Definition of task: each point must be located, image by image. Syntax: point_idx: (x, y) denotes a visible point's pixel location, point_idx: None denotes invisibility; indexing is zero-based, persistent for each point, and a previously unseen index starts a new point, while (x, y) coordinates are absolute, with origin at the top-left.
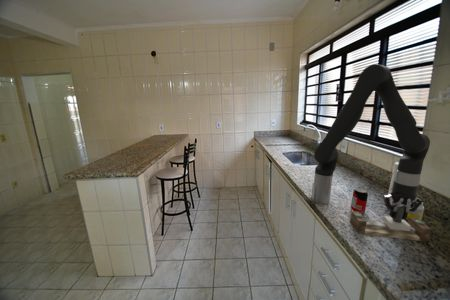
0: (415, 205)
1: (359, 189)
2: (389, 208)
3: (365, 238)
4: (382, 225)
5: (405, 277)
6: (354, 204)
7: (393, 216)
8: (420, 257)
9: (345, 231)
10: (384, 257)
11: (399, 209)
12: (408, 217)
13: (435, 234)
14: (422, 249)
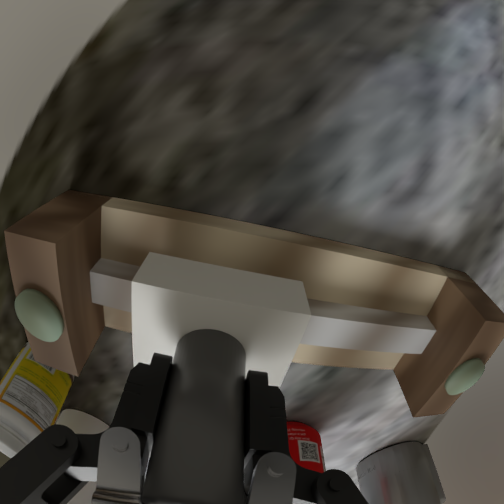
0: (24, 501)
1: None
2: (346, 481)
3: (464, 222)
4: (319, 322)
5: None
6: (324, 464)
7: (266, 392)
8: (256, 22)
9: (499, 279)
10: (480, 66)
11: (227, 480)
12: (64, 376)
13: (4, 258)
14: (163, 101)
